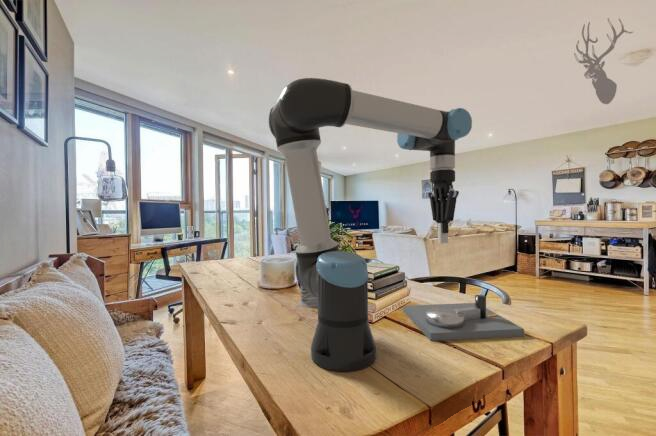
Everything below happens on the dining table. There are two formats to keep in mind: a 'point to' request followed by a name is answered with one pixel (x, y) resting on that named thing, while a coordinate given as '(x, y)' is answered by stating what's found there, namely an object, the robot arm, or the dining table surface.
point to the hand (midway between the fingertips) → (442, 243)
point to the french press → (308, 299)
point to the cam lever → (456, 314)
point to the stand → (472, 328)
